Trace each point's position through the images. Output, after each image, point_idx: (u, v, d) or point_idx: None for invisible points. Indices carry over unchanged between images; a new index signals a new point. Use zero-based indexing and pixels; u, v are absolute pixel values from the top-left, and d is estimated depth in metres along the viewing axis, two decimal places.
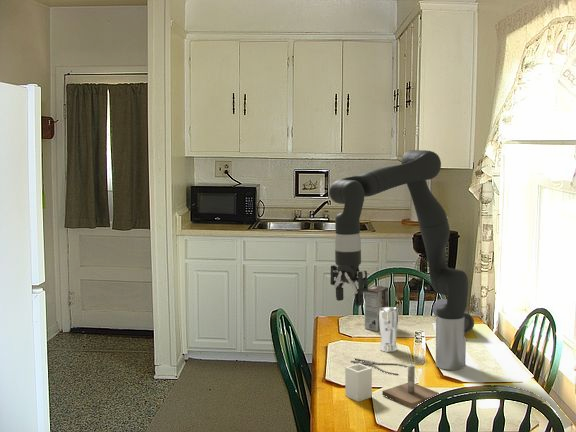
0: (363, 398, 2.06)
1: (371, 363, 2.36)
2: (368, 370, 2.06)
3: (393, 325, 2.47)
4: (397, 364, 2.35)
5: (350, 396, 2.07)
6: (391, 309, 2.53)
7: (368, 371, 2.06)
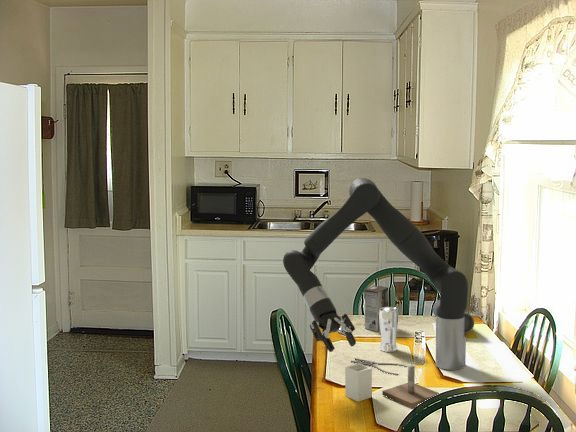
0: (363, 398, 2.06)
1: (371, 363, 2.36)
2: (368, 370, 2.06)
3: (393, 325, 2.47)
4: (397, 364, 2.35)
5: (350, 396, 2.07)
6: (391, 309, 2.53)
7: (368, 371, 2.06)
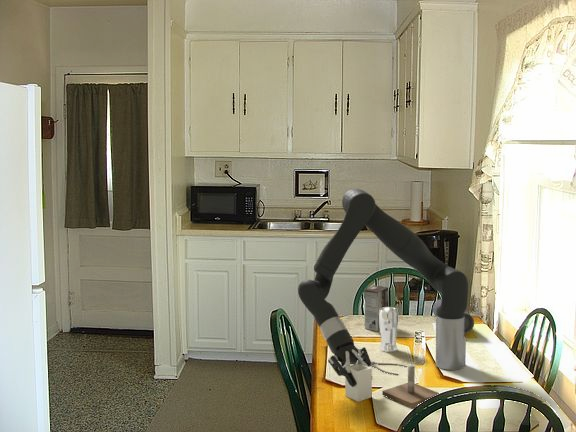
0: (363, 398, 2.06)
1: (371, 363, 2.36)
2: (368, 370, 2.06)
3: (393, 325, 2.47)
4: (397, 364, 2.35)
5: (350, 396, 2.07)
6: (391, 309, 2.53)
7: (368, 371, 2.06)
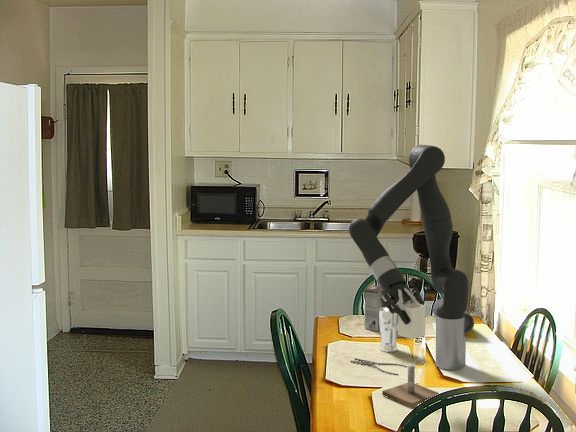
0: (417, 336, 2.03)
1: (371, 363, 2.36)
2: (422, 308, 2.03)
3: (393, 325, 2.47)
4: (397, 364, 2.35)
5: (403, 334, 2.04)
6: None
7: (422, 309, 2.03)
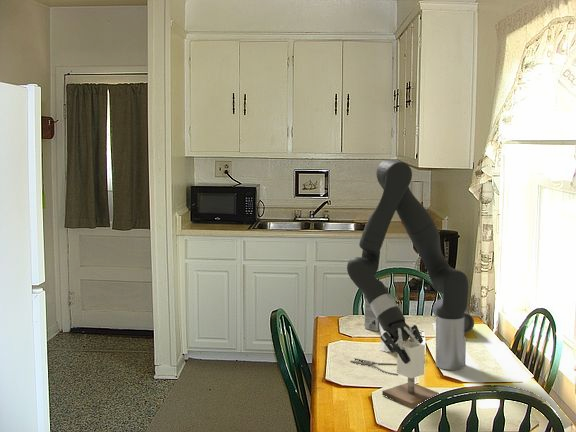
0: (416, 375, 2.04)
1: (371, 363, 2.36)
2: (421, 347, 2.04)
3: None
4: None
5: (402, 373, 2.05)
6: None
7: (421, 348, 2.04)
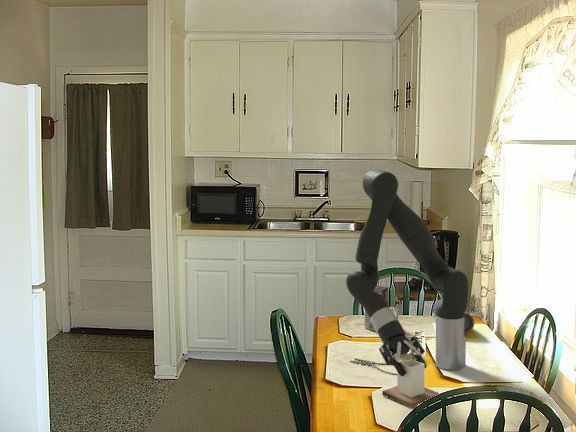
0: (416, 394, 2.05)
1: (371, 363, 2.36)
2: (421, 366, 2.05)
3: None
4: None
5: (403, 392, 2.06)
6: (391, 309, 2.53)
7: (421, 367, 2.05)
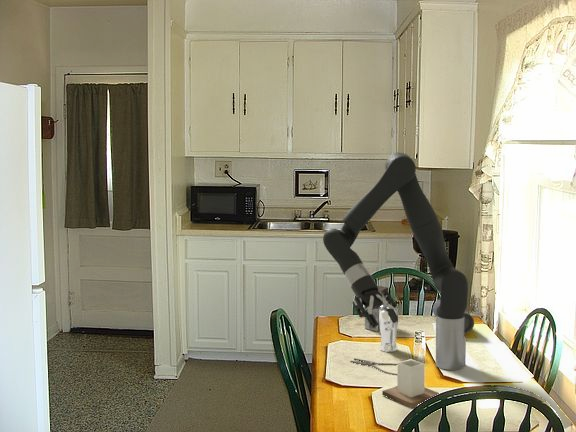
0: (416, 394, 2.05)
1: (371, 363, 2.36)
2: (421, 366, 2.05)
3: (393, 325, 2.47)
4: (397, 364, 2.35)
5: (403, 392, 2.06)
6: None
7: (421, 367, 2.05)
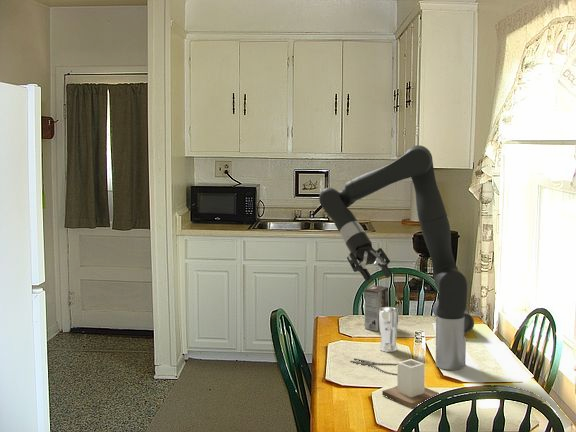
0: (416, 394, 2.05)
1: (371, 363, 2.36)
2: (421, 366, 2.05)
3: (393, 325, 2.47)
4: (397, 364, 2.35)
5: (403, 392, 2.06)
6: (391, 309, 2.53)
7: (421, 367, 2.05)
